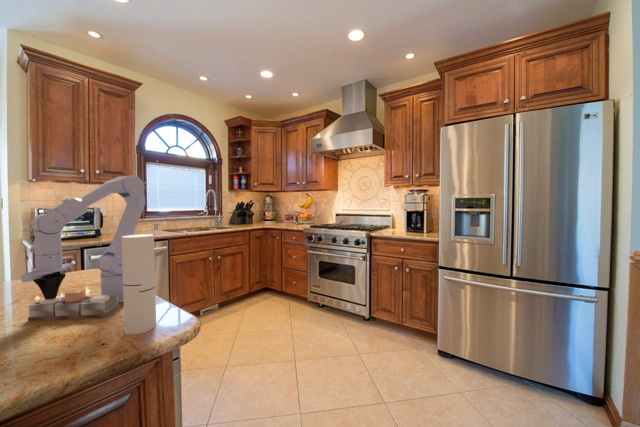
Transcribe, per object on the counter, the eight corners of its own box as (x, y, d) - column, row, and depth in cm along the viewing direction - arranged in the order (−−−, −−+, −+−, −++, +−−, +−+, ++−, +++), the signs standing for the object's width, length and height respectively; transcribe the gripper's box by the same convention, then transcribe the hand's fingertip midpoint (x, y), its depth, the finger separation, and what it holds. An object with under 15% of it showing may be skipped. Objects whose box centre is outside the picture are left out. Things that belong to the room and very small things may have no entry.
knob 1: (65, 308, 84) (65, 295, 84) (52, 314, 80) (51, 301, 80) (50, 309, 84) (49, 296, 84) (35, 315, 79) (35, 301, 79)
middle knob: (89, 301, 85) (89, 289, 84) (77, 307, 80) (77, 294, 80) (74, 302, 84) (73, 289, 84) (61, 308, 80) (60, 294, 80)
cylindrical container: (128, 324, 75) (125, 235, 74) (158, 320, 78) (155, 233, 77) (121, 336, 69) (118, 238, 68) (153, 331, 72) (151, 236, 71)
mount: (119, 309, 86) (119, 295, 86) (104, 318, 80) (103, 303, 80) (49, 311, 85) (49, 297, 85) (28, 320, 78) (27, 305, 78)
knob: (113, 307, 85) (113, 294, 85) (103, 313, 81) (102, 299, 80) (98, 307, 85) (97, 295, 85) (86, 313, 80) (86, 300, 80)
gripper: (56, 250, 88) (57, 291, 89) (8, 259, 74) (10, 308, 74) (79, 249, 89) (80, 290, 89) (36, 258, 74) (38, 307, 75)
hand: (50, 299), depth 82 cm, fingers closed, pressing on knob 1
